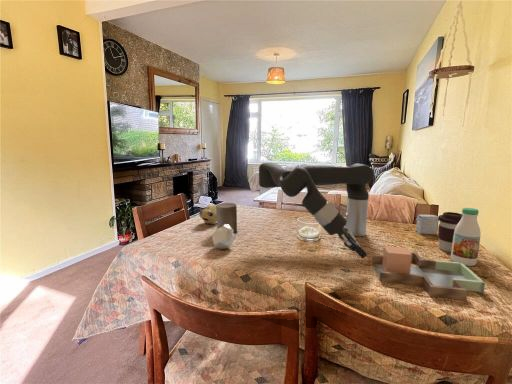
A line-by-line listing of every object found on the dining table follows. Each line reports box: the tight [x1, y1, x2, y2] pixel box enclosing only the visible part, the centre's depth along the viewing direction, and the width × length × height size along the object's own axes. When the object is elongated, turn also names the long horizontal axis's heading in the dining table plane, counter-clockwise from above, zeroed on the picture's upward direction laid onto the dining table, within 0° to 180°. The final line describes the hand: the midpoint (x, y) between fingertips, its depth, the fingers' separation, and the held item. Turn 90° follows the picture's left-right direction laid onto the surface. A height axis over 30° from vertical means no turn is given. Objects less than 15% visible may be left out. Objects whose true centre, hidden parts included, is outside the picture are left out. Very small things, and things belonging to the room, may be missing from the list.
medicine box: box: [415, 214, 440, 235], centre depth 134 cm, size 8×4×9 cm, turn 84°
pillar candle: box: [215, 202, 238, 235], centre depth 134 cm, size 10×10×15 cm
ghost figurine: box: [212, 224, 236, 250], centre depth 115 cm, size 9×9×10 cm
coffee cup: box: [437, 211, 462, 253], centre depth 113 cm, size 10×10×15 cm
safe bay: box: [435, 259, 486, 294], centre depth 89 cm, size 8×14×4 cm, turn 167°
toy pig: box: [198, 203, 217, 225], centre depth 149 cm, size 10×12×11 cm
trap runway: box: [371, 251, 484, 301], centre depth 91 cm, size 28×26×4 cm
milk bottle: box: [450, 207, 482, 267], centre depth 101 cm, size 8×8×20 cm
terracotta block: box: [382, 245, 412, 274], centre depth 92 cm, size 7×6×8 cm
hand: (364, 256), depth 93 cm, fingers closed
